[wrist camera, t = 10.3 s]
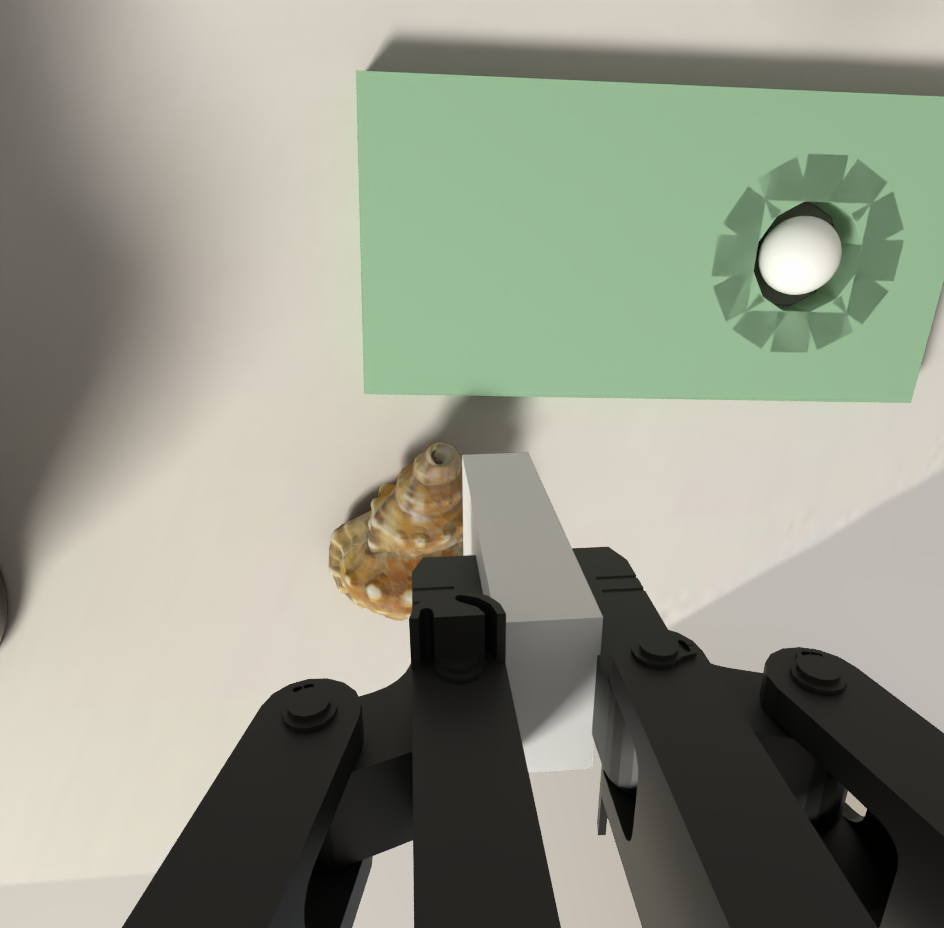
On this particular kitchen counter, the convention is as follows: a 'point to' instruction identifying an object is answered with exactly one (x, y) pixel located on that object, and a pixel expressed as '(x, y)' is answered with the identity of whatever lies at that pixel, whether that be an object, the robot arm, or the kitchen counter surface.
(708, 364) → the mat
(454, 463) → the seashell
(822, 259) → the ball
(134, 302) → the kitchen counter surface
